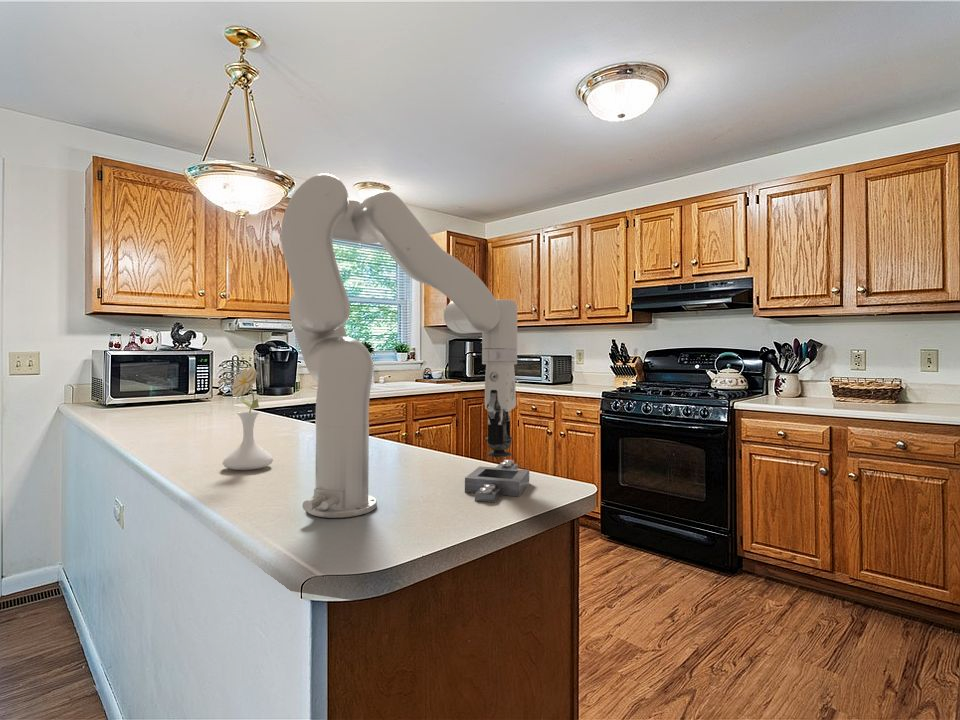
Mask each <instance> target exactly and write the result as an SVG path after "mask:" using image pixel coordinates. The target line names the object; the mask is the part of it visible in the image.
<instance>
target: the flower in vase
mask: <svg viewBox="0 0 960 720" xmlns="http://www.w3.org/2000/svg"><path fill="white" fill-rule="evenodd" d="M257 375H258V372H257V370H256V369H255V367H252V366H250V367H249V368H247V367H244V369H243V370H241V372H240V373H238V374H236V378H235V379H234V382H233V384H232V385H231V388H232V390H231V395H233V396H234V397H235V398H237V397H238V398H239V397H241V398H240V399H241V400H240V401H241V403H243V404H244V405H246V406H247V407H249V410H244V411H238V412H237V415H238V416H239V417H240V420H241V422H242V430H243V431H242V433H243V434H242V435H243V437H242V441H241V444H240V445H238V447H236V448H235V449H234V450H232V452H230V453H229V454H228V455H227V456H226V457H225V458H224V459H223V462H222V465H223V467H224V468H225V469H226V468H227V469H229V470H233V471H234V470H235V471H250V470H251V471H252V470H257V469H263V468H265V467H267V466H270V465H272V463H273V461H274V459H273V458H274V457H273V456H272V455H271V454H270V453H269V452H268V451H266V450H265V449H264V448H262V447H261V446H260V445H258V444H257V443H256V441H255V440H254V439H255V438H254V428H255V422H256V419H257V417H258V415H259V414H260V411H257V410H253V409H257V408H259V407H260V405H259V399H258V398H255V395H254V392H253V389H252V387H253V384H256V380H257V377H258V376H257ZM249 391H250V393H251V396H252V402H250V401H248V400H246V399H245V398H244V397H243V396H245V394H246V393H248V392H249Z"/></svg>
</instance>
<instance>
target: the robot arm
mask: <svg viewBox="0 0 960 720" xmlns="http://www.w3.org/2000/svg"><path fill="white" fill-rule="evenodd" d="M349 197H350V196H349V193H348V190H347V188H346V186H345V184H344V183H343V181H342V180H341V179H340V178H338V177H336V176H335V175H333V174H329V173H319V174H315V175H313V176H311V177H309V178H308V179H306V180H305V181H304V182H303V183H302V184H301V185H300V186H299V187H298V188H297V189H296V190H295V192H294V193H293V194H292V195H291V197H290V199H289V201H288V203H287V204H286V206H285V207H286V208H285V210H284V213H283V217H282V220H281V229H280V239H281V241H280V242H281V249H282V254H283V257H284V262H285V264H286V267H287V268H286V269H287V272H288V276H289V279H290V282H291V286H292V290H293V294H292V296H291V298H290V301H289V306H288V308H289V318H290V322H291V325H292V328H293V330H294V335H295V337H296V341H297V343H298V347H299V349H300V352H301V356H302V358H303V361H304V364H305V366H306V369H307V371H308V373H309V374H310V376H311V377H312V378H313V379H314V380H315V381H317V390H316V400H315V423H314V424H315V488H314V489H313V496H312V497H310V498H308V499H306V500H304V501H303V502H302V508H303V511H305V512H307V513H308V514H309V515H311V516H315V517H320V518H326V519H327V518H329V519H344V518H350V517H351V518H352V517H357V516H361V515H364V514H369V513H371V512H372V511H374V510H375V509H376V508H377V506H378V503H377V501H378V500H377V499H376V498H375V497H374V496H373V495H369V483H370V482H369V479H370V478H369V477H370V475H369V470H370V469H369V468H370V467H369V465H370V464H369V463H370V462H369V459H370V456H369V454H370V453H369V452H370V447H369V446H370V423H369V422H370V398H371V397H370V396H371V389H372V379H373V372H374V369H373V367H374V366H373V364H374V363H373V360H372V356H371V353H370V351H369V350H368V348H367V347H366V345H365V344H363V343H362V342H361V341H359V340H358V339H356V338H353V337H350V336H348V334H347V332H346V328H345V324H346V323H347V321H348V320H349V318H350V314H351V303H350V299H349V297H348V293H347V290H346V288H345V285H344V282H343V278H342V276H341V275H342V274H341V273H340V270H339V266H338V263H337V260H336V255H335V251H334V246H333V245H334V244H333V240H339V241H345V242H352V243H357V244H358V243H360V244H370V245H372V244H378V243H379V244H380V245H381V246H382V247H383V249H384V250H385V251H386V252H387V253H388V254H389V256H391V258H392V259H393V260H394V262H396V264H397V265H398V266H399V267H400V268H401V269H402V271H403V272H404V273H405V274H406V275H407V276H408V277H409V278H411V279H413V280H415V281H417V282H419V283H422V284H424V285H427V286H429V287H432V288H434V289H435V290H437V291H439V292H440V293H442V295H444V296H445V297H447V298H448V299H449V300H450V302H449V303H448V304H447V305H446V307H445V308H444V311H443V321H444V323H445V325H446V327H447V328H448V329H450V330H451V332H454V333H457V334H477V333H482V334H481V335H482V337H481V339H482V340H481V343H482V344H481V347H482V350H481V354H482V355H481V361H482V362H481V364H482V365H486V366H485V378H484V409H485V410H487V413H488V415H487V416H488V417H487V419H488V420H487V437H488V443H489V444H500V445H501V444H503V425H502V417H503V409H504V410H505V412H506V420H508V421H507V422H506V431H507V435H508V436H509V437H511V421H510V420H511V412H510V411H512V410H513V409H515V407H516V405H517V394H516V393H517V392H516V390H517V389H516V373H515V365H517V364H518V305H517V303H516V301H515V300H513V299H509V298H507V299H506V298H505V299H504V298H498V299H497V298H495V296H494V294H493V293H492V292H491V291H490V289H489V288H488V287H487V286H486V284H485V283H484V281H483V280H482V279H481V278H480V277H479V276H478V275H477V274H476V273H475V272H474V270H471V269H470V268H469V267H468V266H466V265H465V264H464V263H462V262H461V261H460V260H458V259H457V258H455V256H453V255H452V254H451V253H448V252H447V251H445V250H443V248H442V247H440V245H439V244H438V243H437V242H436V241H435V240H434V238H433V237H432V235H430V234H429V232H428V231H427V229H426V228H425V227H424V226H423V225H422V223H421V222H420V221H419V220H418V218H417V217H416V215H414V214H413V212H412V210H410V208H409V206H407V204H406V203H405V202H404V201H403V200H402V198H400V196H398V195H397V194H396V193H394V192H391V191H389V190H381V191H376V192H374V193H372V194H371V195H369V196H368V197H366V198H365V199H364V200H359V199H351V198H349ZM496 409H500V410H496ZM498 414H499V418H498ZM488 443H487V444H488Z"/></svg>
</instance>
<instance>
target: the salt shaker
mask: <svg viewBox="0 0 960 720" xmlns="http://www.w3.org/2000/svg"><path fill="white" fill-rule="evenodd" d="M496 410H500V409H496ZM498 418H499V414H498ZM507 421H508V420H506V412H505V410H504V409H503V417H502V425H503V444H501V445H500V444H489V443H488V436H486V437H485V440H486V443H487V446H488V447H489V449H491V450H490V451H489V452H488V453H486V456H488V457H492V458H508V457H510V456H511V457H512V453H511V452H509V451H508V450H509V448H511V445H512V441H513V440H514V438H513V437H512V436H510V437H509V436H508V435H507V431H506V422H507ZM506 450H507V451H506Z"/></svg>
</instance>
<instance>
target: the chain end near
mask: <svg viewBox="0 0 960 720" xmlns="http://www.w3.org/2000/svg"><path fill="white" fill-rule="evenodd" d="M485 477H491V478H505V479H512V477H498V476H485ZM529 484H530V477H529V478H528V479H527V480H526V482H525V483H524V484H523V485H522V487H521V488H520V489H508V488H495V486H496V485H494V484H485V485H484V487H483V486H471V485H465V484H464V493H468V492H473V493H472V494H474V501H475V502H482V501H487V502H486V503H493V502H495V501H496V502H497V501H498V500H499V498H501V497H502V496H503V495H508V496H507V497H515V496H519V497H520V496H521V495H522V494H523V493H524V491H525V490H526V489H527V487H528V486H529ZM527 485H528V486H527ZM526 486H527V487H526ZM524 489H525V490H524ZM521 493H522V494H521ZM496 502H495V503H496Z"/></svg>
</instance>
